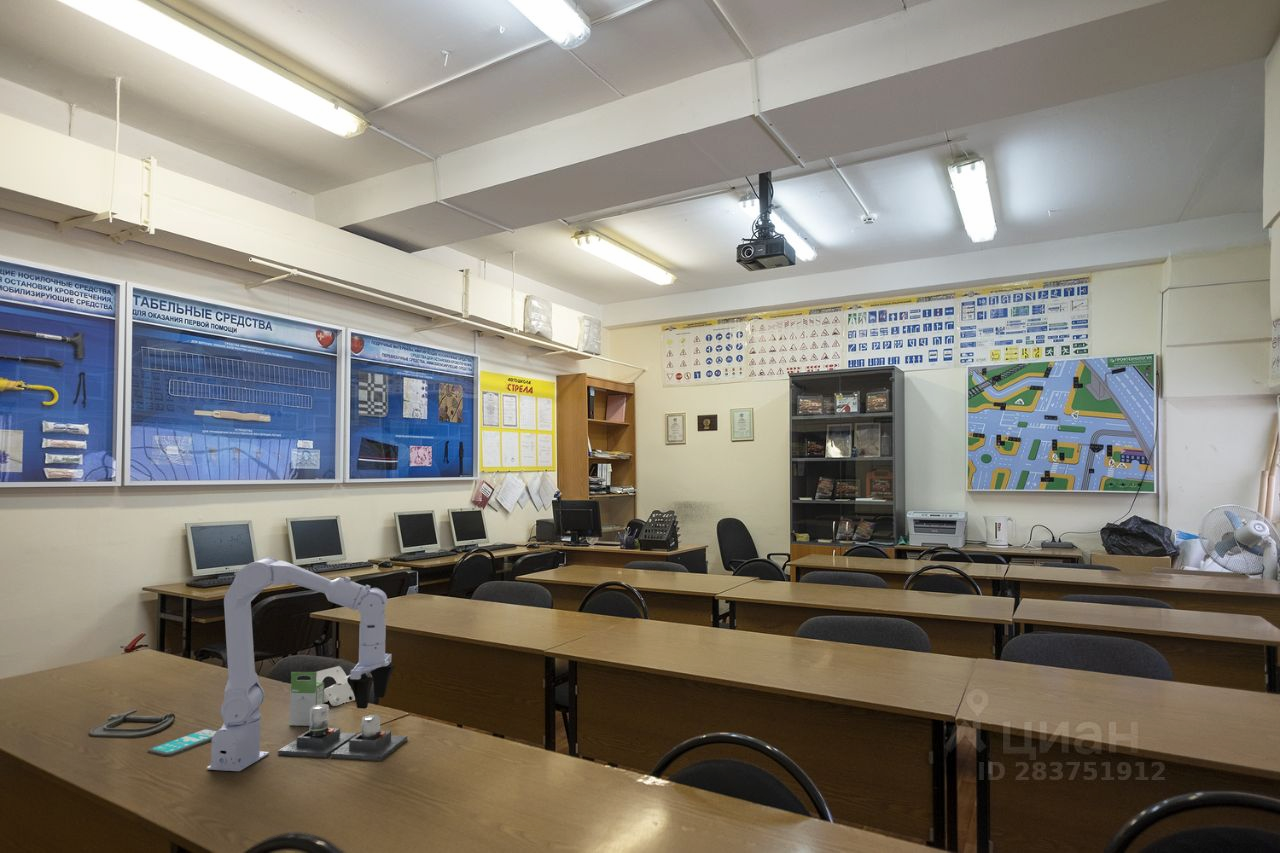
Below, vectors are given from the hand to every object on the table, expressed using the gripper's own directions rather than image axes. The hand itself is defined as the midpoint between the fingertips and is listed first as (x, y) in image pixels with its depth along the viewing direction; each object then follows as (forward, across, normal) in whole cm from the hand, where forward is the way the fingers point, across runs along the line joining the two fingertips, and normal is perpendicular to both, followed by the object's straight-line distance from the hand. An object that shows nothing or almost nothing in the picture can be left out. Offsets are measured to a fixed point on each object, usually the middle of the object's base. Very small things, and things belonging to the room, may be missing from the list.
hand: (371, 702), depth 158 cm
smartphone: (+11, -2, +45) cm, 46 cm away
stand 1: (+10, 0, +13) cm, 17 cm away
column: (+9, 0, 0) cm, 9 cm away
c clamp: (+11, +7, +68) cm, 69 cm away
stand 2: (+10, 0, 0) cm, 10 cm away
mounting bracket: (+11, +32, +27) cm, 43 cm away
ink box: (+11, +13, +25) cm, 30 cm away
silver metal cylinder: (+8, 0, +13) cm, 15 cm away
